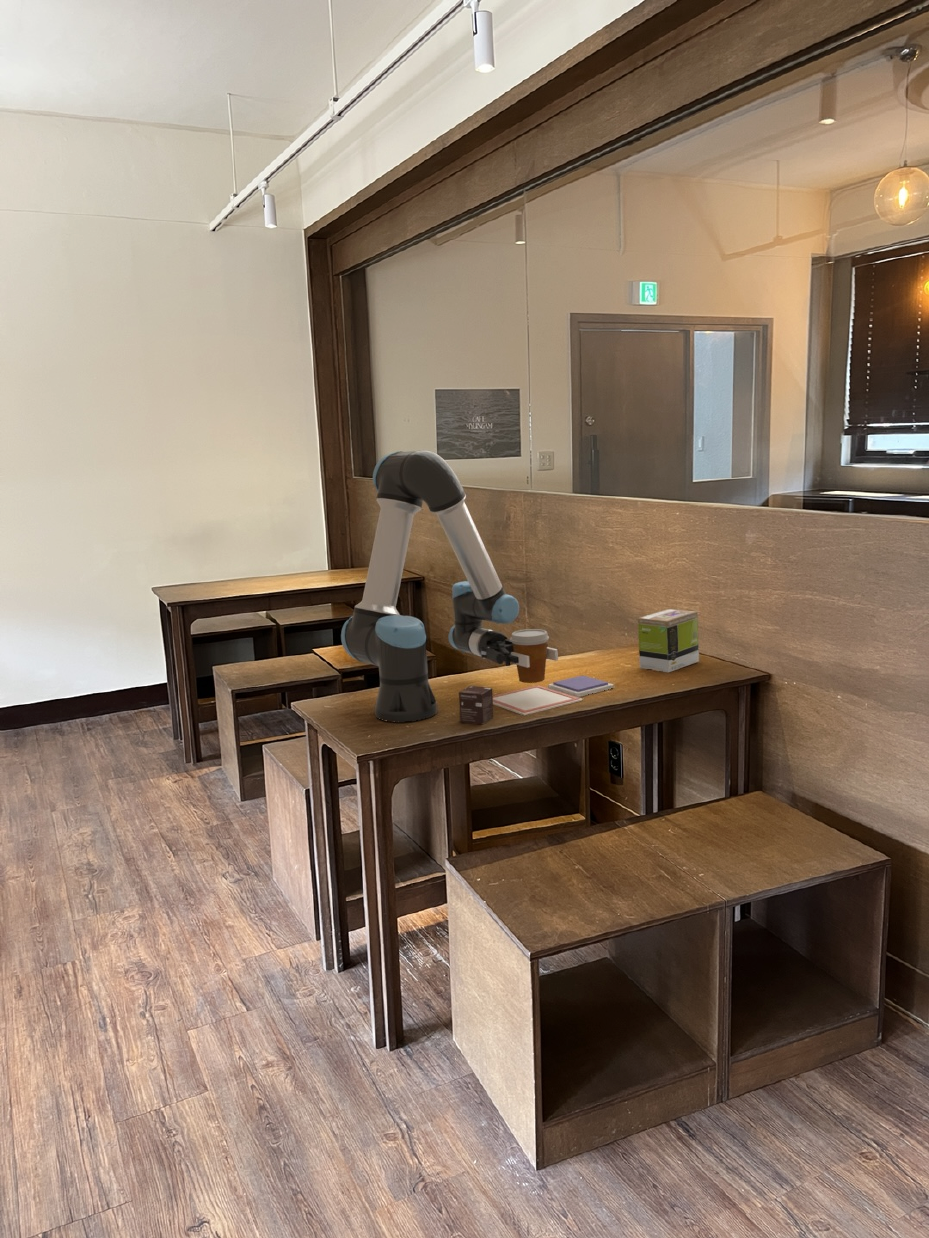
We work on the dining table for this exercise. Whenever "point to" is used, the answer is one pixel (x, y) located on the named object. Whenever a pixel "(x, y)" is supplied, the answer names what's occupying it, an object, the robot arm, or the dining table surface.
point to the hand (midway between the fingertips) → (542, 658)
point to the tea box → (668, 640)
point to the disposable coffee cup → (531, 653)
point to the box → (476, 704)
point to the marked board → (533, 700)
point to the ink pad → (580, 686)
